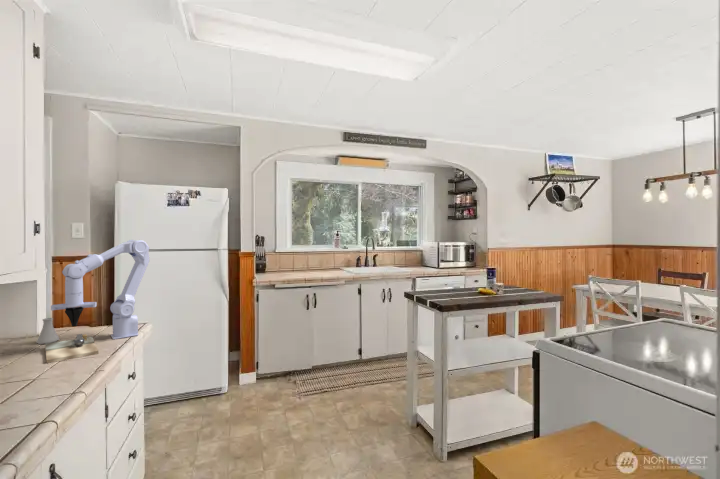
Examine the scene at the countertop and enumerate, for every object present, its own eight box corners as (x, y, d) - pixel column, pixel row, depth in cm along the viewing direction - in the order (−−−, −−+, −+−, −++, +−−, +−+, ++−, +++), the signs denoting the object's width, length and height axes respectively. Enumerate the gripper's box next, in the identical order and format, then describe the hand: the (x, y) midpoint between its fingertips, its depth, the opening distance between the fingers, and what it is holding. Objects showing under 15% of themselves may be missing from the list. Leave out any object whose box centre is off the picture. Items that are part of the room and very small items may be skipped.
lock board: (91, 340, 152) (91, 331, 151) (98, 353, 135) (98, 343, 135) (45, 348, 141) (45, 338, 141) (46, 363, 125) (46, 352, 125)
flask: (48, 344, 146) (48, 320, 145) (31, 344, 146) (31, 320, 146) (63, 339, 153) (63, 316, 153) (47, 339, 153) (47, 316, 153)
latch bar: (84, 344, 140) (84, 340, 140) (74, 345, 138) (74, 341, 138) (84, 337, 148) (84, 333, 148) (74, 338, 146) (74, 334, 146)
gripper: (98, 290, 150) (98, 321, 150) (54, 292, 144) (55, 325, 144) (94, 293, 144) (94, 325, 144) (48, 295, 137) (49, 329, 138)
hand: (74, 325), depth 144 cm, fingers closed
